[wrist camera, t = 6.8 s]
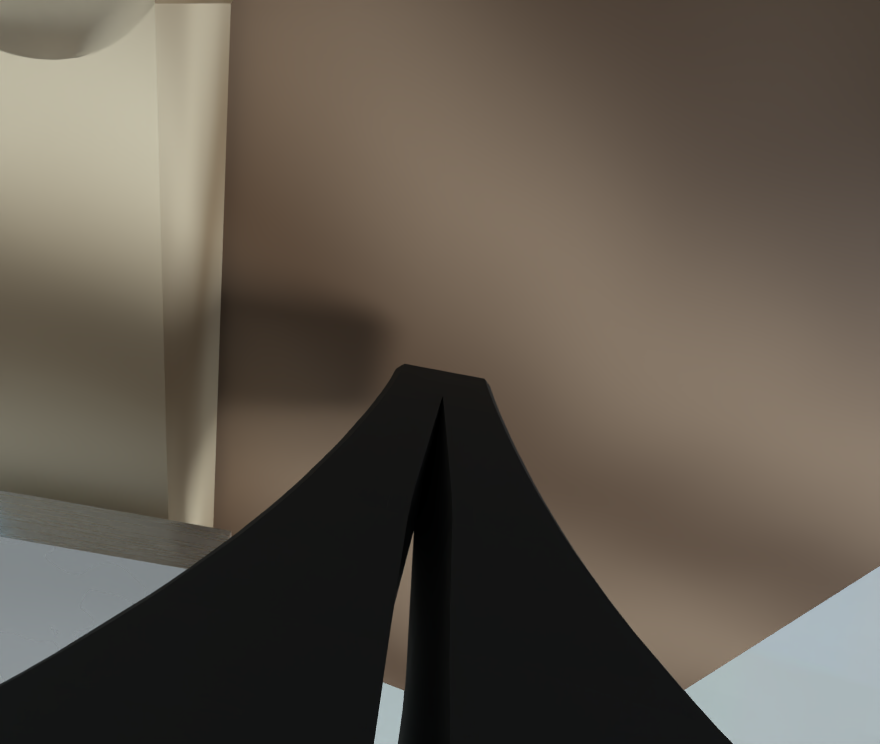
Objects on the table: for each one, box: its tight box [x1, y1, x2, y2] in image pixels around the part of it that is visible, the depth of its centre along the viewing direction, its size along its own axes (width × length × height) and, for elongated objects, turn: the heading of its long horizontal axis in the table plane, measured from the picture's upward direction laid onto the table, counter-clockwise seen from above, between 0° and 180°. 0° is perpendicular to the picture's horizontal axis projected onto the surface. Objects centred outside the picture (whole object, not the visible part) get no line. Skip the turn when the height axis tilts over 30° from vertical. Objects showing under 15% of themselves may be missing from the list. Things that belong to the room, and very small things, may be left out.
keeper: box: [0, 490, 232, 684], centre depth 11 cm, size 6×4×4 cm
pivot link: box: [0, 0, 233, 528], centre depth 8 cm, size 13×4×3 cm, turn 167°
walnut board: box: [213, 0, 880, 690], centre depth 11 cm, size 19×19×1 cm
